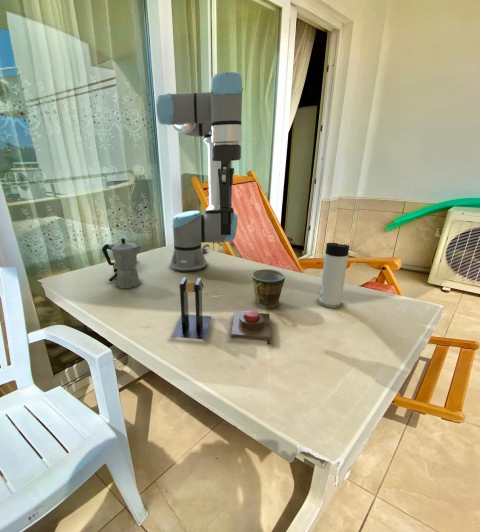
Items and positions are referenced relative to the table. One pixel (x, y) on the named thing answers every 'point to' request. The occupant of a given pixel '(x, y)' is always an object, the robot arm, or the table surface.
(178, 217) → the robot arm
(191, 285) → the switch lever
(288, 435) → the table surface
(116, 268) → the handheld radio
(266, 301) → the ceramic cup
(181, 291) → the switch bracket
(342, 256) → the travel mug
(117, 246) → the coffeepot
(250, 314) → the button
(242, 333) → the button block
